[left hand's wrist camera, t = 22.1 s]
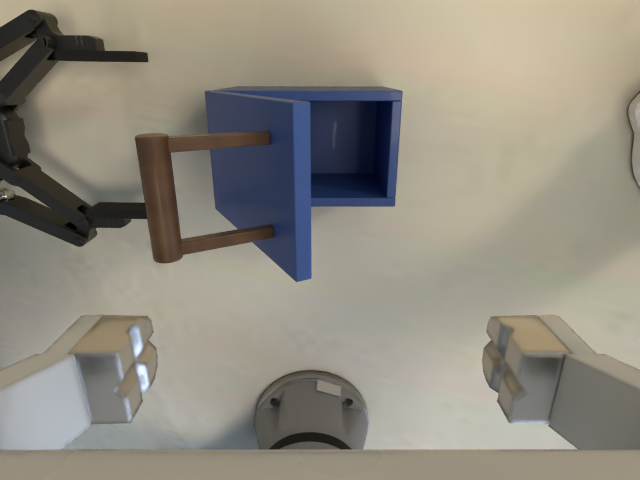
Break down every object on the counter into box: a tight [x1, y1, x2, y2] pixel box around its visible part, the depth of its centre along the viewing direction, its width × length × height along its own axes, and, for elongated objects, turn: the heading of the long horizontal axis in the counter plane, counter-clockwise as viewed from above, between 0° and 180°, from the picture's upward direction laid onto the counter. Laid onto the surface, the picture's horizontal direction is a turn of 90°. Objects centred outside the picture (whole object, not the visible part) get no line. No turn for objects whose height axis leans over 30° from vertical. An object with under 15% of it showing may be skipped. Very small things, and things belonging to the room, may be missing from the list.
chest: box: [214, 87, 402, 206], centre depth 41 cm, size 15×10×11 cm, turn 90°
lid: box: [135, 91, 311, 282], centre depth 27 cm, size 16×10×8 cm
